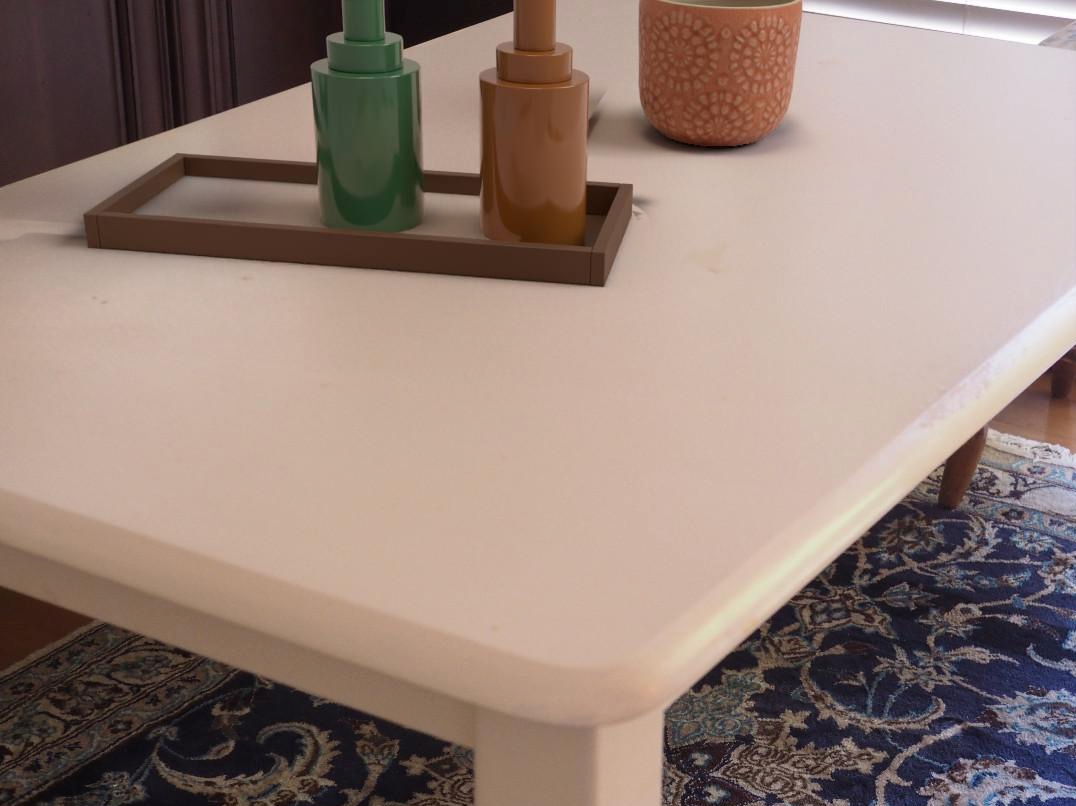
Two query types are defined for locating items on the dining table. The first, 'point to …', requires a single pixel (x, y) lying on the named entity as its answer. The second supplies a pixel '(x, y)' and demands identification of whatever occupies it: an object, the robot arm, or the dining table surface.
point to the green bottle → (368, 126)
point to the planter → (717, 67)
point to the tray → (349, 247)
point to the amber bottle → (533, 135)
